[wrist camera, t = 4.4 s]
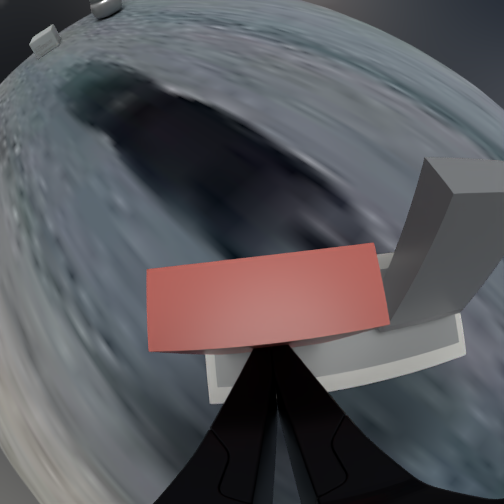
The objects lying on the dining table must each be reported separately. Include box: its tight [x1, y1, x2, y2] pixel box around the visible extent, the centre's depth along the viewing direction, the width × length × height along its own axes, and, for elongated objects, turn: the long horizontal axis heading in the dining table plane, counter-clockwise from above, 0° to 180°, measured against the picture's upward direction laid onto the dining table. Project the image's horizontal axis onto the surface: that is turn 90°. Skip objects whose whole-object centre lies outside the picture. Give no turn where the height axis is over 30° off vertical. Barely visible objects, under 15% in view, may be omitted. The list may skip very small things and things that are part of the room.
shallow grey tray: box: [205, 252, 466, 404], centre depth 16 cm, size 7×15×3 cm, turn 96°
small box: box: [29, 25, 61, 59], centre depth 37 cm, size 6×6×5 cm
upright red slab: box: [147, 243, 390, 355], centre depth 10 cm, size 2×5×9 cm, turn 96°
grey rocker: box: [377, 157, 504, 332], centre depth 11 cm, size 2×5×9 cm, turn 95°
